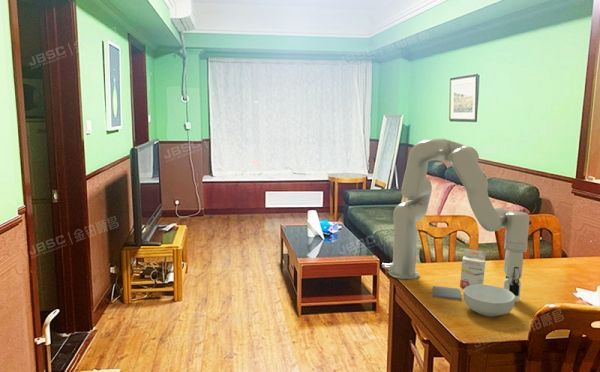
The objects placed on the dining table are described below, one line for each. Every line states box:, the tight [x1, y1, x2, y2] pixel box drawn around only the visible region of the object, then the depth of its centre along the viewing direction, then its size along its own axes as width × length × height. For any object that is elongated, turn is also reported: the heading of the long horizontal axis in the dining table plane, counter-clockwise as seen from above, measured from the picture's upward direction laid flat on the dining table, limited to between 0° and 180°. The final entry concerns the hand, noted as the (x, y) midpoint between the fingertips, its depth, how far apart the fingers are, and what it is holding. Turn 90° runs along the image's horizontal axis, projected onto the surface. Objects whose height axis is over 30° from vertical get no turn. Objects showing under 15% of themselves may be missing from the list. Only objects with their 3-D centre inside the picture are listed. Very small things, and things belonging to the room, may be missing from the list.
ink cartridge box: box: [459, 248, 486, 289], centre depth 186 cm, size 9×5×15 cm, turn 65°
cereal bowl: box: [463, 284, 516, 318], centre depth 163 cm, size 17×17×7 cm
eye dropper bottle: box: [502, 275, 522, 303], centre depth 173 cm, size 4×6×12 cm
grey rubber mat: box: [432, 285, 462, 301], centre depth 179 cm, size 10×10×1 cm
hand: (511, 290), depth 173 cm, fingers open, 8 cm apart
